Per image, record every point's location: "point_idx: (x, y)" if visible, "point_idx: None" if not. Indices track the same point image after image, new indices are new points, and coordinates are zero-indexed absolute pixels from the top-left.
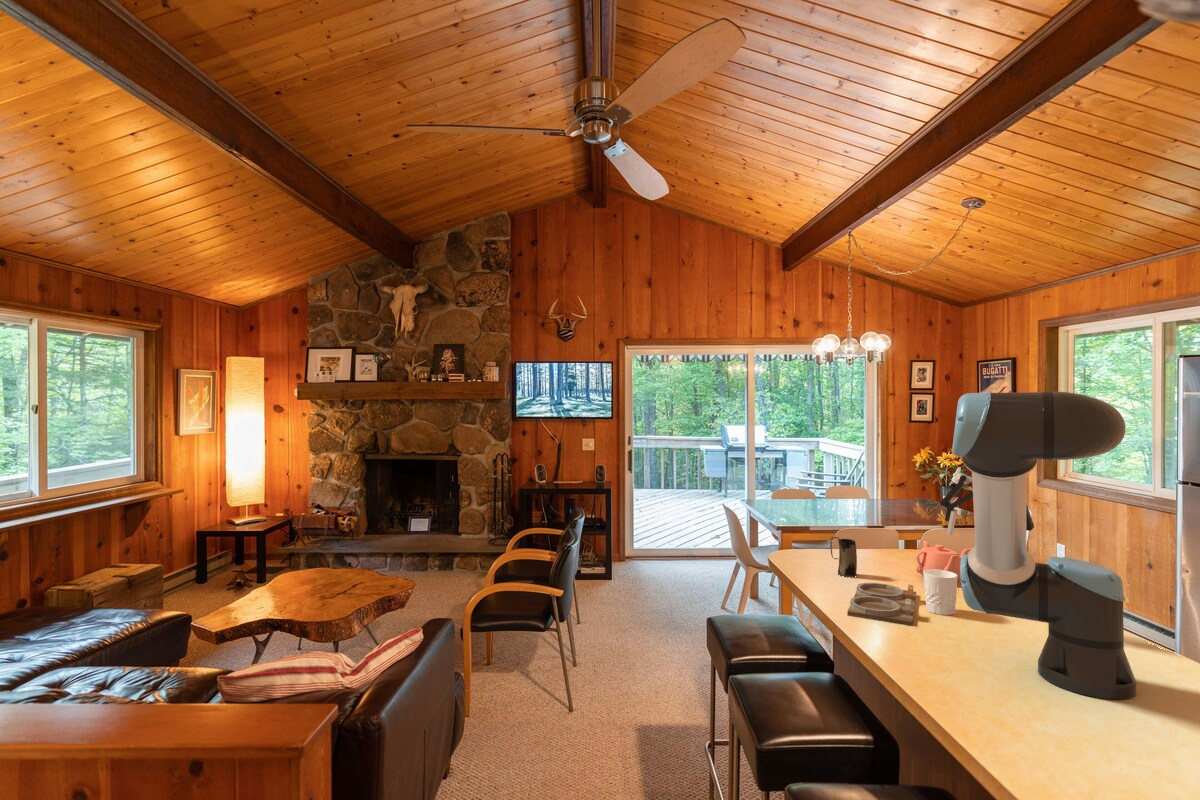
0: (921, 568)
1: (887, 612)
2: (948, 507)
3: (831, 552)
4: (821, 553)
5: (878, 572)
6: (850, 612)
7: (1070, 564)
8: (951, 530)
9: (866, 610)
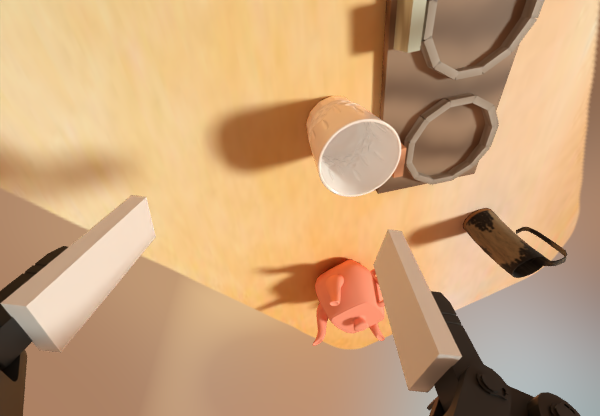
0: (374, 276)
1: None
2: (499, 384)
3: (538, 235)
4: (492, 283)
5: (425, 257)
6: None
7: None
8: (387, 257)
9: None
